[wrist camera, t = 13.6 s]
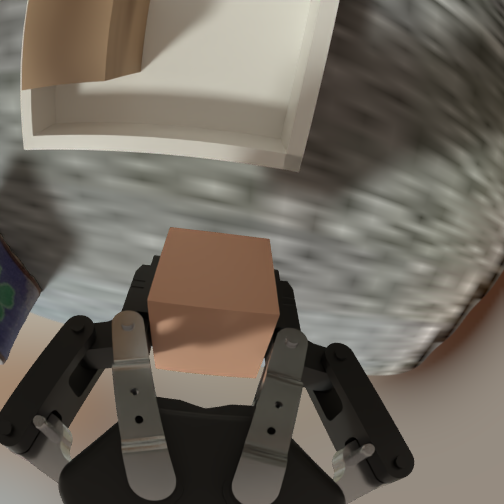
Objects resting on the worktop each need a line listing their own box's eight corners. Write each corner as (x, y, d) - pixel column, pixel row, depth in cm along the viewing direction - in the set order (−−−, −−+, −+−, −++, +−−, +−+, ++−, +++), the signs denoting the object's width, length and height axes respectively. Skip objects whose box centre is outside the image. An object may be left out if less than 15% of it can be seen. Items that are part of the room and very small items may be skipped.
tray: (54, 131, 15) (24, 150, 12) (71, -41, 8) (40, -51, 5) (289, 149, 17) (298, 172, 14) (330, -38, 10) (350, -56, 7)
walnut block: (69, 76, 12) (21, 90, 9) (76, 4, 10) (28, -1, 6) (140, 71, 13) (104, 81, 9) (151, -6, 10) (117, -23, 7)
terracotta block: (169, 297, 16) (156, 368, 12) (170, 227, 13) (147, 300, 10) (252, 306, 16) (255, 378, 13) (269, 239, 14) (279, 314, 10)
